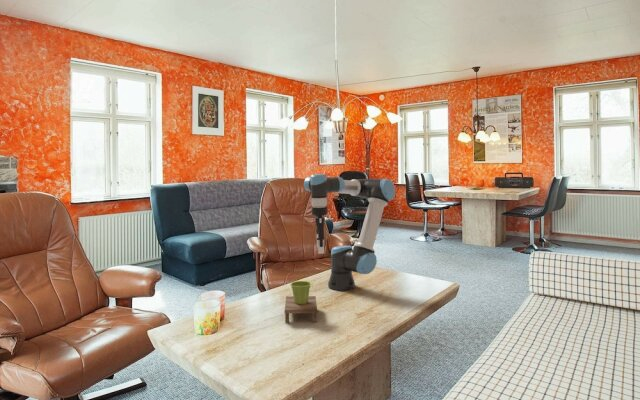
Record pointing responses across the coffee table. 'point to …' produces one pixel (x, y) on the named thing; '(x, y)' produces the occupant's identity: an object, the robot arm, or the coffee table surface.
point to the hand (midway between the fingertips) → (320, 250)
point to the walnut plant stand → (300, 307)
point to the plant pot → (300, 291)
